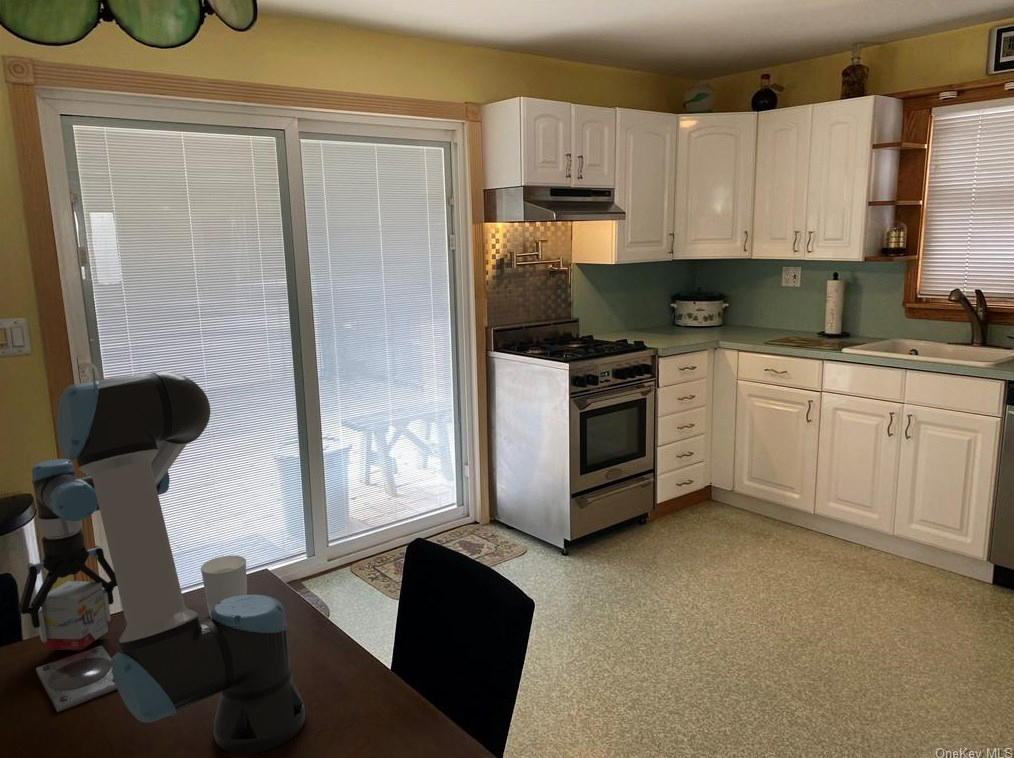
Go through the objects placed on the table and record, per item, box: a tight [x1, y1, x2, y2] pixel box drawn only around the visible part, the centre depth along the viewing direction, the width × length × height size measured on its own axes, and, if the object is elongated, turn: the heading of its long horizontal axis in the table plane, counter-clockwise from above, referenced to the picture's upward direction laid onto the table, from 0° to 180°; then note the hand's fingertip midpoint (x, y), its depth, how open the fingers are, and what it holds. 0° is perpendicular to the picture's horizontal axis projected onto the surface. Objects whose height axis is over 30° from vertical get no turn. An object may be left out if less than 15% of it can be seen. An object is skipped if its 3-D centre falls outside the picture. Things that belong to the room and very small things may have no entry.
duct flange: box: [35, 645, 118, 713], centre depth 145 cm, size 18×12×2 cm, turn 43°
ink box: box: [40, 580, 109, 651], centre depth 157 cm, size 9×9×12 cm
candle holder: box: [200, 555, 248, 619], centre depth 170 cm, size 10×10×12 cm
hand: (76, 629), depth 158 cm, fingers closed on ink box, 11 cm apart
